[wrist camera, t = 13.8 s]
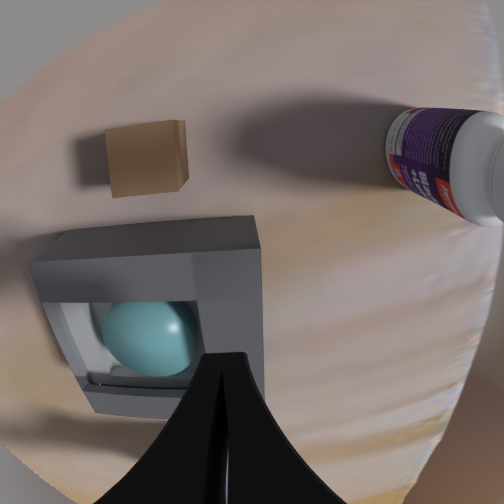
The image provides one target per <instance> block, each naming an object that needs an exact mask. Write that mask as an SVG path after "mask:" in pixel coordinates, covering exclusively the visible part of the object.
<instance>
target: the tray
mask: <svg viewBox="0 0 504 504" xmlns="http://www.w3.org/2000/svg"><path fill="white" fill-rule="evenodd" d="M52 242H54V241H52ZM52 242H50V243H49V244H48V245H46V246H45V247H44V248H43V249H42V250H40V251H39V252H38V253H37V254H36V255H34V256H33V257H32V258H31V259H30V260H28V262H30V261H31V260H32V259H33V258H34V257H35V256H37V255H38V254H39V253H40V252H41V251H43V250H44V249H45V248H46V247H48V246H49V245H50V244H51V243H52ZM29 267H30V266H29ZM30 270H31V269H30ZM31 273H32V272H31ZM36 288H37V287H36ZM37 291H38V290H37ZM38 294H39V293H38ZM41 302H42V301H41ZM185 302H186V303H187V305H188V306H189V307H190V308H191V310H192V311H193V313H194V315H195V317H196V320H197V325H198V332H197V339H196V346H195V353H194V357H193V359H192V361H191V363H190V364H189V365H188V366H187V367H186V368H185V369H184V370H182V371H181V372H179V373H176V374H173V375H169V376H161V377H158V376H148V375H144V374H140V373H138V372H135V371H133V370H131V369H129V368H127V367H126V366H124V365H123V364H121V363H120V362H119V361H118V360H117V359H115V358H114V356H113V355H112V354H111V353H110V351H109V350H108V348H107V346H106V345H105V342H104V339H103V335H102V327H103V322H104V320H105V318H106V316H107V314H108V312H109V310H110V309H111V307H112V305H113V303H45V302H42V304H43V307H44V310H45V312H46V315H47V317H48V320H49V322H50V325H51V327H52V329H53V332H54V334H55V336H56V338H57V341H58V343H59V345H60V347H61V349H62V352H63V354H64V356H65V358H66V360H67V362H68V364H69V366H70V368H71V370H72V372H73V374H74V376H75V378H76V380H77V381H78V383H79V385H80V387H81V389H82V391H83V389H84V387H85V385H86V384H92V385H99V384H108V385H121V386H137V387H162V388H187V387H188V385H189V383H190V381H191V379H192V377H193V375H194V373H195V370H196V368H197V366H198V363H199V360H200V358H201V356H202V355H203V354H204V353H206V352H205V347H204V341H203V335H202V329H201V323H200V316H199V310H198V303H197V300H194V301H185Z"/></svg>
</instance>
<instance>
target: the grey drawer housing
mask: <svg viewBox="0 0 504 504" xmlns="http://www.w3.org/2000/svg"><path fill="white" fill-rule="evenodd" d="M28 263H29V266H30V269H31V272H32V276H33V279H34V282H35V285H36V287H37V290H38V293H39V296H40V299H41V301H42V302H45V303H126V302H167V301H194V300H197V303H198V310H199V316H200V323H201V329H202V335H203V341H204V347H205V352H206V353H225V352H245V353H246V354H247V356H248V361H249V365H250V369H251V372H252V374H253V377H254V380H255V382H256V385H257V387H258V389H259V391H260V393H261V395H262V397H263V399H264V401H265V395H264V348H263V308H262V272H261V247H260V242H259V238H258V233H257V228H256V223H255V219H254V216H238V217H222V218H206V219H191V220H178V221H165V222H152V223H140V224H129V225H118V226H107V227H97V228H87V229H77V230H68V231H66V232H65V233H64V234H63V235H61V236H60V237H59V238H57V239H56V240H55V241H54V242H52V243H51V244H50V245H49V246H48V247H46V248H45V249H44V250H43V251H41V252H40V253H39V254H38V255H37V256H35V257H34V258H33V259H32V260H31V261H30V262H28ZM186 389H187V388H162V387H137V386H121V385H108V384H101V385H92V384H86V385H85V387H84V389H83V392H84V394H85V396H86V397H87V399H88V401H89V403H90V404H91V406H92V408H93V409H94V411H95V413H101V414H109V415H118V416H128V417H139V418H154V419H170V417H171V415H172V414H173V412H174V411H175V409H176V407H177V406H178V404H179V402H180V400H181V398H182V397H183V395H184V393H185V391H186Z"/></svg>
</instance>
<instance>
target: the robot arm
mask: <svg viewBox="0 0 504 504" xmlns="http://www.w3.org/2000/svg"><path fill="white" fill-rule="evenodd" d="M93 504H347V503H346V502H344V501H343V500H342V499H341V498H340V497H339V496H338V495H337V494H335V493H334V492H333V491H332V490H331V489H330V488H329V487H328V486H327V485H326V484H325V483H324V482H323V481H322V480H321V479H320V478H319V477H318V475H317V474H316V473H315V472H314V471H313V470H312V469H311V468H310V467H309V466H308V465H307V463H306V462H305V461H304V460H303V459H302V457H301V456H300V455H299V454H298V453H297V451H296V450H295V449H294V447H293V446H292V445H291V443H290V442H289V441H288V439H287V438H286V436H285V435H284V433H283V432H282V430H281V429H280V427H279V426H278V424H277V422H276V421H275V419H274V417H273V416H272V414H271V412H270V411H269V409H268V407H267V405H266V403H265V401H264V399H263V397H262V395H261V393H260V391H259V389H258V387H257V385H256V382H255V380H254V377H253V374H252V372H251V369H250V365H249V361H248V356H247V354H246V353H245V352H225V353H204V354H203V355H202V356H201V358H200V360H199V363H198V366H197V368H196V370H195V373H194V375H193V377H192V379H191V381H190V383H189V385H188V387H187V389H186V391H185V393H184V395H183V397H182V398H181V400H180V402H179V404H178V406H177V407H176V409H175V411H174V412H173V414H172V415H171V417H170V419H169V420H168V422H167V423H166V425H165V426H164V428H163V429H162V431H161V432H160V434H159V435H158V437H157V438H156V439H155V441H154V442H153V443H152V445H151V446H150V447H149V448H148V450H147V451H146V452H145V453H144V455H143V456H142V457H141V458H140V459H139V460H138V462H137V463H136V464H135V465H134V466H133V467H132V468H131V469H130V470H129V472H128V473H127V474H126V475H125V476H124V477H123V478H122V479H121V480H120V481H119V482H117V483H116V484H115V485H114V486H113V487H112V488H111V489H110V490H109V491H108V492H106V493H105V494H104V495H103V496H102V497H101V498H100V499H98V500H97V501H96V502H95V503H93Z"/></svg>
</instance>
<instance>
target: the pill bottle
mask: <svg viewBox="0 0 504 504" xmlns="http://www.w3.org/2000/svg"><path fill="white" fill-rule="evenodd" d="M385 150H386V159H387V163H388V166H389V169H390V171H391V173H392V175H393V176H394V177H395V179H396V180H397V181H398V182H399V183H400V184H401V185H402V186H404V187H405V188H407V189H409V190H410V191H412V192H414V193H416V194H418V195H420V196H422V197H424V198H426V199H428V200H430V201H432V202H434V203H436V204H438V205H440V206H442V207H444V208H446V209H448V210H450V211H451V212H453V213H455V214H457V215H459V216H460V217H462V218H464V219H466V220H467V221H469V222H472V223H474V224H476V225H479V226H483V227H494V226H498V225H500V224H503V223H504V117H503V116H502V115H500V114H497V113H493V112H487V111H478V110H465V109H447V108H413V109H409V110H407V111H404V112H403V113H401V114H400V115H399V116H398V117H397V118H396V119H395V120H394V121H393V123H392V125H391V126H390V128H389V131H388V134H387V138H386V146H385Z"/></svg>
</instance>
